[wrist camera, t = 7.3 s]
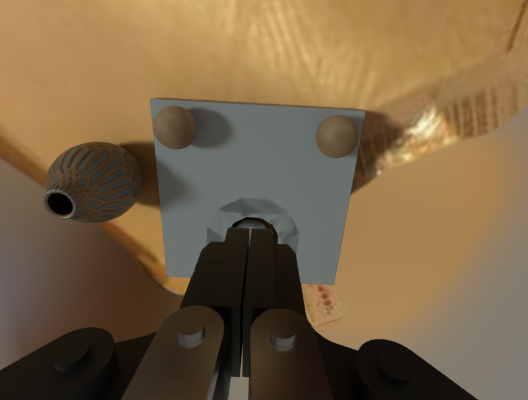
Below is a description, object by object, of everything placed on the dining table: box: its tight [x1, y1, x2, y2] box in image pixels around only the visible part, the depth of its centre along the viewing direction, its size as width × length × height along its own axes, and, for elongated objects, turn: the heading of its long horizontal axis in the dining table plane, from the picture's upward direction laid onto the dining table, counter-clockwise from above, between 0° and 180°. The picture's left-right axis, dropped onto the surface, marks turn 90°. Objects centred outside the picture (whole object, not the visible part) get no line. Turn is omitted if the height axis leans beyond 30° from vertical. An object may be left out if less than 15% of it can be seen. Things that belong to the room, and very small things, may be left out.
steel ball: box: [235, 220, 267, 237], centre depth 29 cm, size 4×4×4 cm
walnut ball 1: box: [153, 106, 197, 150], centre depth 22 cm, size 3×3×3 cm
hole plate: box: [150, 98, 366, 285], centre depth 28 cm, size 18×18×2 cm
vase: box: [43, 142, 144, 223], centre depth 24 cm, size 7×7×9 cm
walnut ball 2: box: [316, 115, 359, 158], centre depth 23 cm, size 3×3×3 cm
